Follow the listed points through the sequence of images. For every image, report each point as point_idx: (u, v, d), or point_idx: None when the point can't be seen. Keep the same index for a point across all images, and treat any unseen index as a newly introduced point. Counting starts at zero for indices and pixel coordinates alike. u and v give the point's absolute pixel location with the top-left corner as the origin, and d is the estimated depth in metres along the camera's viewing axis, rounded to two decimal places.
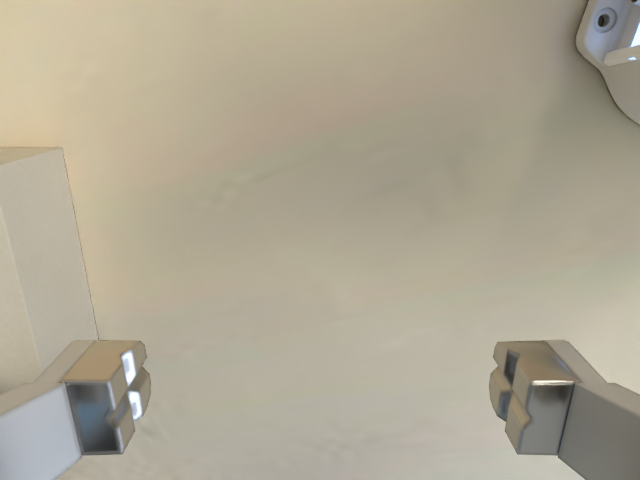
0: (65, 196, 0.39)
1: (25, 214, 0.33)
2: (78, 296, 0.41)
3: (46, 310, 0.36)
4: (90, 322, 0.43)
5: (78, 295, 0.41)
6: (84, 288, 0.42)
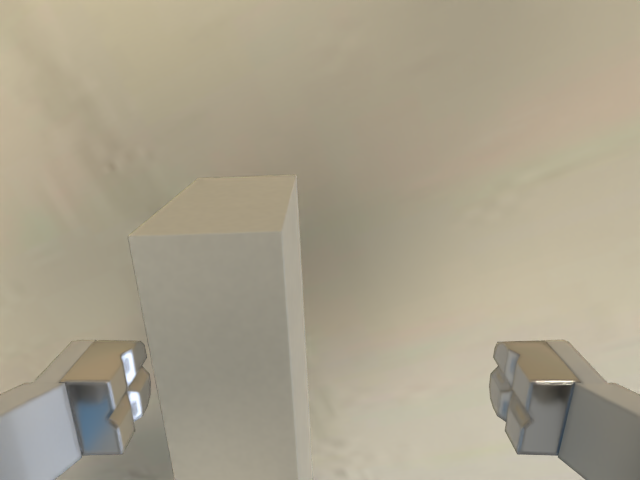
0: (300, 256, 0.23)
1: (293, 307, 0.18)
2: (307, 412, 0.25)
3: (302, 464, 0.20)
4: (310, 444, 0.27)
5: (307, 411, 0.25)
6: (307, 395, 0.26)
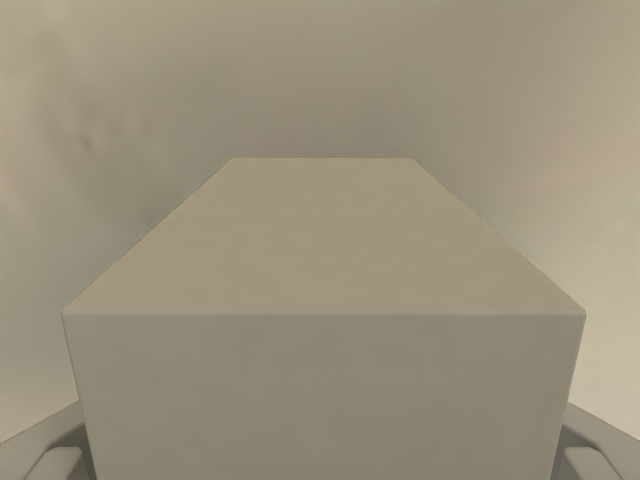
0: None
1: None
2: None
3: None
4: None
5: None
6: None
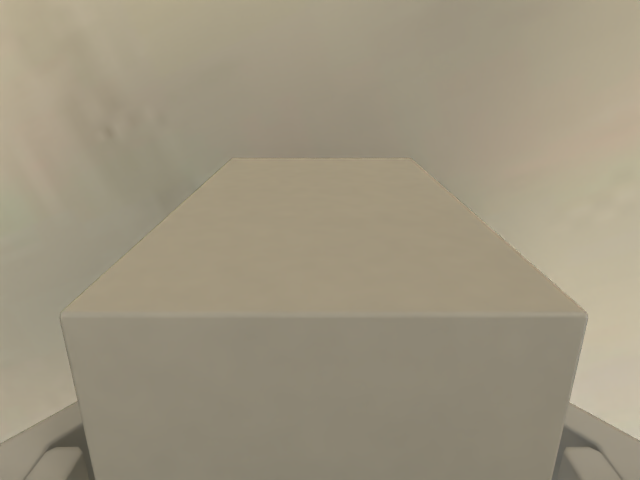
0: None
1: None
2: None
3: None
4: None
5: None
6: None
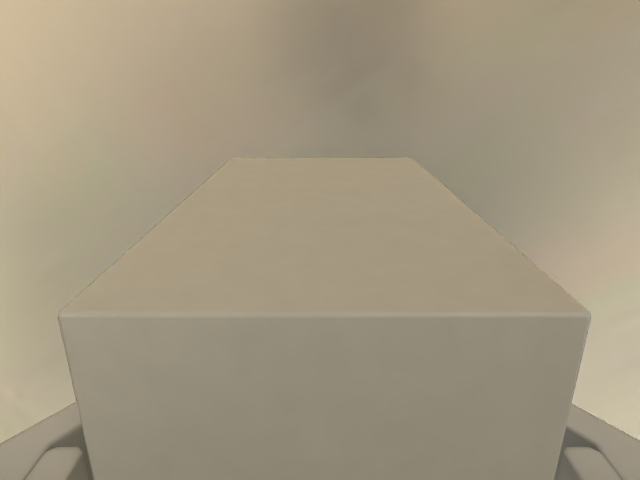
0: None
1: None
2: None
3: None
4: None
5: None
6: None
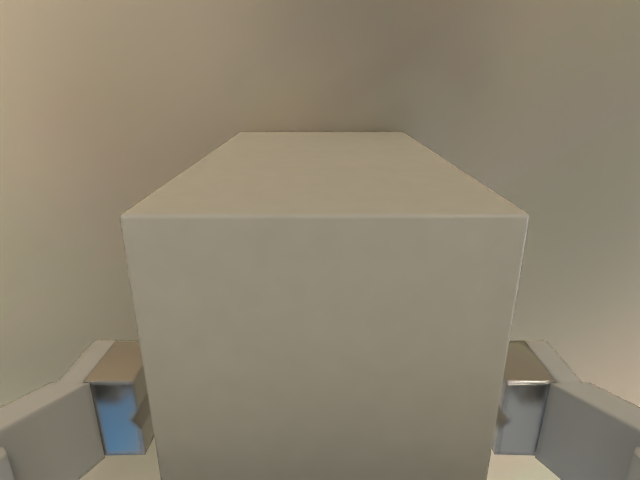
0: None
1: None
2: None
3: None
4: None
5: None
6: None
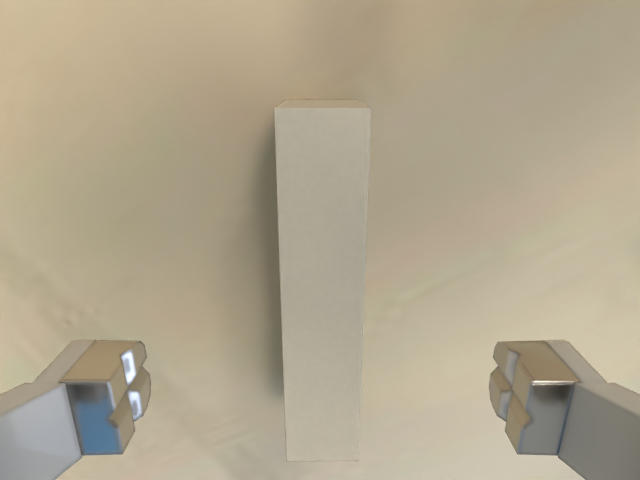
0: None
1: None
2: None
3: None
4: None
5: None
6: None
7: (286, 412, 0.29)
